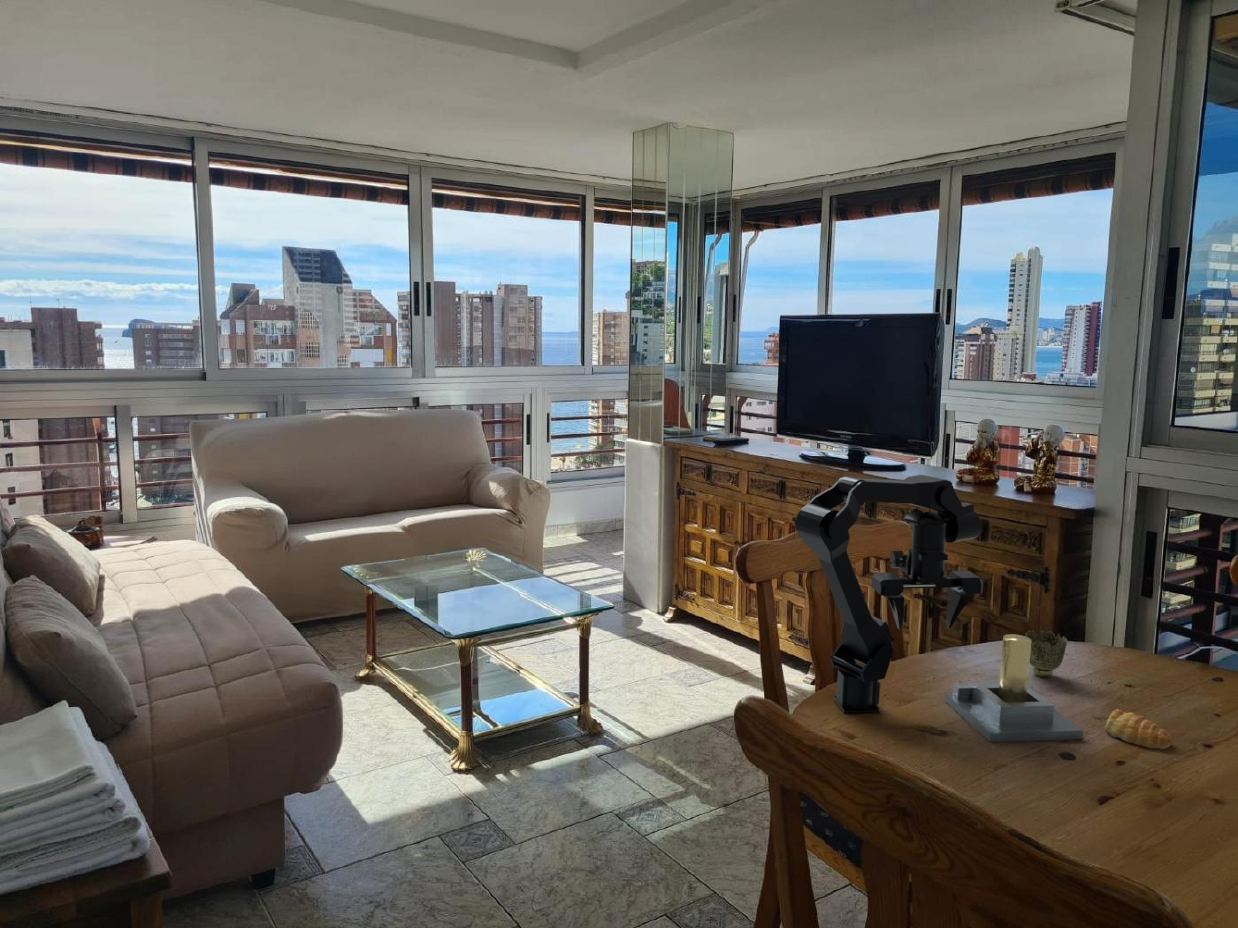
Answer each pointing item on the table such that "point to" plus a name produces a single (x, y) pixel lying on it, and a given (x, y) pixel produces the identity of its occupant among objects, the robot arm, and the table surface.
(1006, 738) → the jig
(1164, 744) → the pastry
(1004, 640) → the sleeve
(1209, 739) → the table surface
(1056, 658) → the cup
